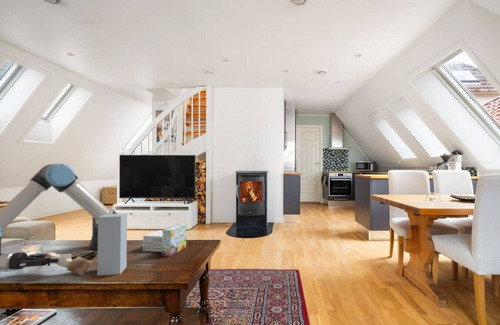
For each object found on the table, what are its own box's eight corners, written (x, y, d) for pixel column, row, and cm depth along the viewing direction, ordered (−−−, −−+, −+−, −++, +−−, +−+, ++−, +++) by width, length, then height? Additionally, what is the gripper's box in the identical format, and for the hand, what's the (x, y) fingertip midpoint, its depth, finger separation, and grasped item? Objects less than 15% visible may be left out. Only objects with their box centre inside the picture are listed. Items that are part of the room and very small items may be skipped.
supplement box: (162, 252, 163) (162, 236, 163) (142, 251, 166) (142, 235, 166) (175, 244, 179) (175, 230, 180) (157, 243, 182) (157, 229, 182)
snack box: (170, 257, 153) (170, 230, 153) (161, 256, 154) (161, 229, 155) (186, 246, 174) (186, 223, 174) (178, 246, 175) (178, 223, 175)
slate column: (97, 275, 126) (98, 217, 127) (105, 268, 135) (106, 214, 136) (120, 274, 127) (120, 216, 128) (126, 266, 137) (127, 213, 138)
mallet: (41, 260, 124) (45, 251, 124) (49, 256, 130) (54, 247, 131) (81, 275, 126) (86, 266, 126) (88, 270, 133) (92, 261, 133)
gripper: (24, 263, 133) (76, 260, 136) (-1, 275, 117) (59, 272, 120) (25, 248, 133) (77, 245, 137) (0, 258, 117) (59, 255, 121)
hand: (68, 258), depth 129 cm, fingers closed on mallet, 3 cm apart
